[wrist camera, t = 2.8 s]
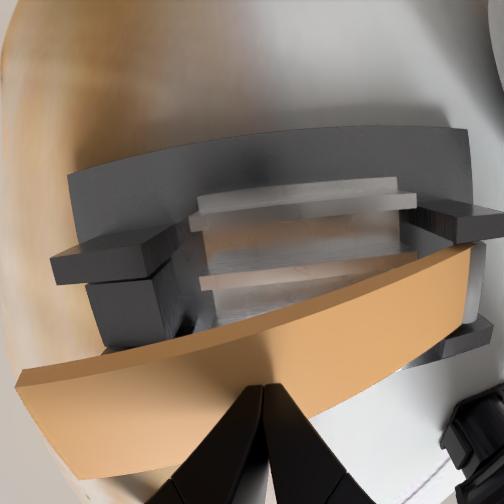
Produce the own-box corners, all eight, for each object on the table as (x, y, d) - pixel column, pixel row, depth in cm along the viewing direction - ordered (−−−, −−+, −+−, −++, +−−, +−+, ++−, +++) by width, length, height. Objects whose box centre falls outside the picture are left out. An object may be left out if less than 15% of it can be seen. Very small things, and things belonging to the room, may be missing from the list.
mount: (453, 131, 14) (520, 123, 8) (446, 344, 17) (489, 393, 11) (81, 173, 15) (11, 180, 10) (134, 378, 19) (100, 436, 13)
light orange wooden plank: (463, 236, 11) (491, 242, 10) (456, 305, 12) (481, 315, 11) (26, 361, 6) (10, 397, 4) (79, 452, 7) (78, 490, 5)
